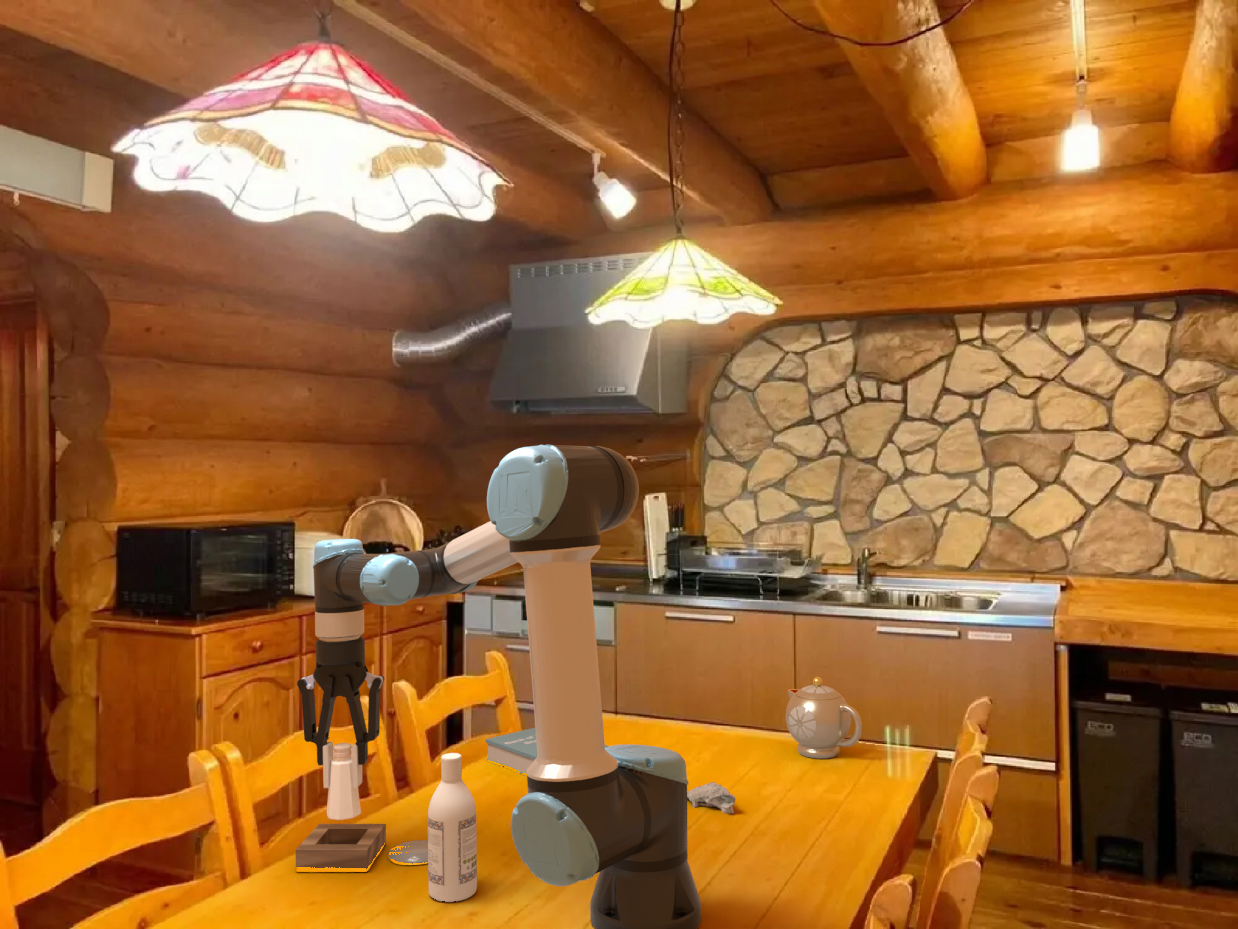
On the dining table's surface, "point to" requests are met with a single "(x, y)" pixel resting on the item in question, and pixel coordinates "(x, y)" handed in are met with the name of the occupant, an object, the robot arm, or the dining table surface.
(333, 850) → the socket block
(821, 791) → the dining table surface
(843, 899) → the dining table surface
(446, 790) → the bath foam
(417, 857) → the coaster
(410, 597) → the robot arm
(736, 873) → the dining table surface
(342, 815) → the salt shaker
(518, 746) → the book
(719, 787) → the stone
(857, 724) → the teapot
